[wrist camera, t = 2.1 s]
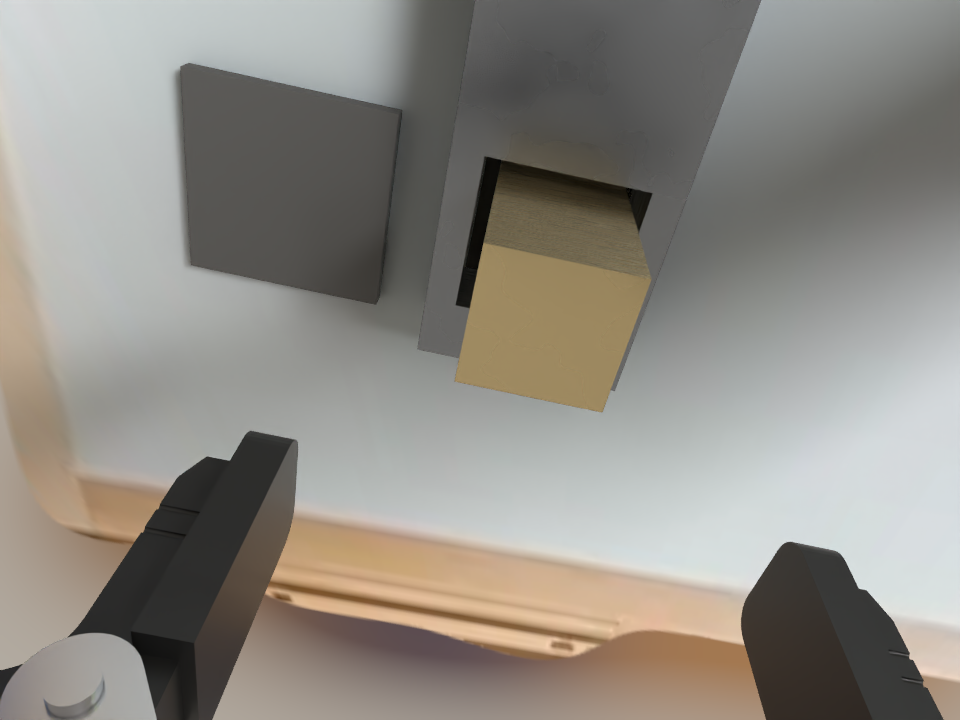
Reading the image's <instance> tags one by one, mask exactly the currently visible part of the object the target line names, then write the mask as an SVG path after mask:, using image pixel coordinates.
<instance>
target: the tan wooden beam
mask: <svg viewBox="0 0 960 720" xmlns="http://www.w3.org/2000/svg"><path fill="white" fill-rule="evenodd" d="M651 280H652V279H651V275H650V272H649V268H648V265H647V261H646V258H645V254H644V251H643V247H642V244H641V240H640V237H639V233H638V230H637V226H636V222H635V219H634V215H633V212H632V208H631V205H630V201H629V198H628V194H627V191H626V187H623V186H618V185H614V184H609V183H604V182H600V181H595V180H591V179H586V178H582V177H577V176H573V175H568V174H564V173H559V172H555V171H550V170H545V169H541V168H536V167H532V166H527V165H523V164H518V163H514V162H509V161H505V160H502V161H501V166H500V170H499V175H498V179H497V184H496V188H495V193H494V197H493V202H492V206H491V211H490V215H489V220H488V225H487V229H486V234H485V238H484V243H483V248H482V252H481V257H480V262H479V267H478V271H477V276H476V281H475V286H474V291H473V295H472V300H471V305H470V310H469V315H468V319H467V324H466V329H465V334H464V338H463V343H462V348H461V353H460V358H459V362H458V367H457V372H456V377H455V382H460V383H464V384H469V385H474V386H479V387H484V388H488V389H493V390H498V391H503V392H507V393H512V394H517V395H522V396H526V397H531V398H536V399H541V400H545V401H550V402H555V403H560V404H564V405H569V406H574V407H579V408H583V409H588V410H593V411H598V412H603V409H604V406H605V404H606V401H607V398H608V396H609V393H610V390H611V387H612V385H613V382H614V379H615V377H616V374H617V371H618V369H619V366H620V363H621V361H622V358H623V355H624V352H625V350H626V347H627V344H628V342H629V339H630V336H631V334H632V331H633V328H634V325H635V323H636V320H637V317H638V315H639V312H640V309H641V307H642V304H643V301H644V299H645V296H646V293H647V290H648V288H649V285H650V282H651Z"/></svg>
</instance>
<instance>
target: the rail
mask: <svg viewBox="0 0 960 720" xmlns="http://www.w3.org/2000/svg"><path fill="white" fill-rule="evenodd" d="M760 2H761V0H475V5H474V11H473V17H472V23H471V29H470V35H469V41H468V47H467V53H466V59H465V65H464V71H463V77H462V83H461V89H460V95H459V101H458V107H457V113H456V119H455V125H454V131H453V137H452V144H451V150H450V156H449V162H448V168H447V174H446V180H445V186H444V192H443V198H442V204H441V210H440V216H439V222H438V228H437V234H436V240H435V246H434V252H433V258H432V264H431V270H430V276H429V282H428V288H427V294H426V300H425V306H424V312H423V319H422V325H421V331H420V337H419V343H418V349H419V350H423V351H428V352H433V353H438V354H442V355H447V356H452V357H456V358H460V353H461V348H462V343H463V338H464V334H465V329H466V324H467V319H468V315H469V310H470V305H471V300H472V295H473V291H474V286H475V281H476V276H477V271H478V270H477V269H472V268H468V267H466V262H467V257H468V252H469V247H470V241H471V236H472V231H473V226H474V221H475V216H476V211H477V206H478V201H479V196H480V191H481V186H482V181H483V175H484V170H485V165H486V160H487V157H491V158H495V159H500V160H505V161H509V162H514V163H518V164H523V165H527V166H532V167H536V168H541V169H545V170H550V171H555V172H559V173H564V174H568V175H573V176H577V177H582V178H586V179H591V180H595V181H600V182H604V183H609V184H614V185H618V186H623V187H627V188H632V189H633V190H632V193H631V196H630V199H629V201H630V205H631V208H632V212H633V215H634V219H635V222H636V226H637V230H638V233H639V237H640V240H641V244H642V247H643V251H644V254H645V258H646V261H647V265H648V268H649V272H650V275H651V279H652V280H651V282H650V285H649V288H648V290H647V293H646V296H645V299H644V301H643V304H642V307H641V309H640V312H639V315H638V317H637V320H636V323H635V325H634V328H633V331H632V334H631V336H630V339H629V342H628V344H627V347H626V350H625V352H624V355H623V358H622V361H621V363H620V366H619V369H618V371H617V374H616V377H615V379H614V382H613V385H612V387H611V390H612V391H615V389H616V386H617V383H618V381H619V378H620V375H621V373H622V370H623V367H624V365H625V362H626V359H627V357H628V354H629V351H630V349H631V346H632V343H633V341H634V338H635V335H636V333H637V330H638V327H639V325H640V322H641V319H642V317H643V314H644V311H645V309H646V306H647V303H648V301H649V298H650V295H651V293H652V290H653V287H654V285H655V282H656V279H657V277H658V274H659V271H660V269H661V266H662V263H663V261H664V258H665V255H666V253H667V250H668V247H669V245H670V242H671V239H672V237H673V234H674V231H675V229H676V226H677V223H678V221H679V218H680V215H681V213H682V210H683V207H684V205H685V202H686V199H687V197H688V194H689V191H690V189H691V186H692V183H693V181H694V178H695V175H696V173H697V170H698V167H699V165H700V162H701V159H702V157H703V154H704V151H705V149H706V146H707V143H708V141H709V138H710V135H711V133H712V130H713V127H714V125H715V122H716V119H717V117H718V114H719V111H720V109H721V106H722V103H723V101H724V98H725V95H726V93H727V90H728V87H729V85H730V82H731V79H732V77H733V74H734V71H735V69H736V66H737V63H738V61H739V58H740V55H741V53H742V50H743V47H744V45H745V42H746V39H747V37H748V34H749V31H750V29H751V26H752V23H753V21H754V18H755V16H756V13H757V10H758V8H759V5H760Z"/></svg>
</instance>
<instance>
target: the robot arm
mask: <svg viewBox="0 0 960 720" xmlns="http://www.w3.org/2000/svg"><path fill="white" fill-rule="evenodd" d="M297 458H298V442H297V440H294V439H289V438H284V437H279V436H274V435H269V434H264V433H259V432H254V431H249V432H248V433H247V434H246V435H245V436H244V438H243V440H242V441H241V443H240V445H239V446H238V448H237V450H236V452H235V453H234V455H233V457H232V458H231V460H230V461H227V460H222V459H217V458H212V457H205V458H204V459H203V460H201V461H200V462H198V463H197V464H196V465H194V466H193V467H191V468H190V469H189V470H187V471H186V472H184V473H183V474H182V475H180V476H179V477H178V478H177V479H176V481H175V482H174V484H173V485H172V487H171V488H170V490H169V491H168V493H167V494H166V496H165V497H164V499H163V500H162V502H161V503H160V507H159V509H158V510H156V511H155V512H154V514H153V515H152V517H151V518H150V520H149V521H148V523H147V524H146V526H145V530H144V532H143V533H140V535H139V536H138V538H137V539H136V541H135V542H134V544H133V545H132V547H131V549H130V550H129V552H128V553H127V555H126V556H125V558H124V559H123V561H122V562H121V564H120V565H119V567H118V568H117V570H116V571H115V573H114V574H113V576H112V577H111V579H110V580H109V582H108V583H107V585H106V586H105V588H104V589H103V591H102V592H101V594H100V595H99V597H98V598H97V600H96V601H95V603H94V604H93V606H92V607H91V609H90V610H89V612H88V613H87V615H86V616H85V618H84V619H83V620H82V622H81V623H80V624H79V626H78V627H77V628H76V629H75V630H74V632H72V633H71V634H70V635H69V636H68V637H67V638H65V639H62V640H60V641H57V642H55V643H53V644H51V645H49V646H47V647H45V648H43V649H42V650H41V651H39V652H37V653H36V654H35V655H33V656H32V657H31V658H29V659H28V660H27V661H26V662H25V663H24V664H21V665H19V666H15V667H12V668H9V669H5V670H0V720H212V719H213V716H214V714H215V711H216V709H217V707H218V704H219V702H220V699H221V697H222V695H223V692H224V690H225V687H226V685H227V682H228V680H229V678H230V675H231V673H232V671H233V667H234V665H235V663H236V661H237V659H238V656H239V654H240V651H241V649H242V647H243V644H244V642H245V639H246V637H247V635H248V632H249V630H250V627H251V625H252V622H253V620H254V618H255V615H256V613H257V610H258V608H259V605H260V603H261V601H262V598H263V596H264V594H265V591H266V589H267V587H268V584H269V582H270V579H271V577H272V575H273V572H274V570H275V567H276V565H277V563H278V560H279V558H280V555H281V553H282V551H283V548H284V546H285V543H286V540H287V537H288V534H289V531H290V527H291V523H292V518H293V513H294V504H295V489H296V473H297ZM741 630H742V636H743V640H744V644H745V647H746V651H747V654H748V657H749V661H750V664H751V668H752V671H753V675H754V679H755V682H756V686H757V689H758V693H759V696H760V700H761V703H762V707H763V710H764V714H765V717H766V720H943V718H942V716H941V714H940V712H939V710H938V708H937V706H936V704H935V702H934V700H933V698H932V696H931V694H930V692H929V690H928V688H926V687H923V679H922V677H921V675H920V673H919V671H918V669H917V667H916V665H915V663H914V661H913V660H910V659H909V654H910V653H909V651H908V649H907V647H906V645H905V643H904V641H903V639H902V637H901V635H900V633H899V631H898V629H897V627H896V626H895V624H894V622H893V620H892V619H891V618H890V617H889V616H888V614H887V613H886V612H885V611H884V610H883V609H882V608H881V606H880V605H879V604H878V603H877V602H876V601H875V600H874V598H873V597H872V596H871V595H870V594H869V593H868V592H867V590H862V589H859V588H858V586H857V584H856V582H855V580H854V578H853V576H852V574H851V572H850V570H849V568H848V566H847V564H846V562H845V560H844V558H843V557H842V556H841V554H839V553H838V552H836V551H833V550H829V549H824V548H819V547H814V546H809V545H804V544H799V543H794V542H787V543H785V544H783V545H782V546H781V547H780V548H779V550H778V551H777V553H776V554H775V556H774V557H773V559H772V560H771V562H770V563H769V565H768V566H767V568H766V569H765V571H764V572H763V574H762V575H761V577H760V578H759V580H758V582H757V583H756V585H755V586H754V588H753V589H752V591H751V592H750V594H749V595H748V597H747V599H746V601H745V603H744V606H743V610H742V617H741Z"/></svg>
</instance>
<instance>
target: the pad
mask: <svg viewBox="0 0 960 720" xmlns="http://www.w3.org/2000/svg"><path fill="white" fill-rule="evenodd" d="M181 85H182V104H183V123H184V142H185V161H186V180H187V199H188V218H189V237H190V256H191V265H193V266H197V267H202V268H207V269H211V270H216V271H221V272H225V273H230V274H235V275H240V276H244V277H249V278H254V279H258V280H263V281H268V282H272V283H277V284H282V285H286V286H291V287H296V288H301V289H305V290H310V291H315V292H319V293H324V294H329V295H333V296H338V297H343V298H347V299H352V300H357V301H362V302H366V303H371V304H376V303H377V301H378V299H379V296H380V288H381V280H382V272H383V264H384V255H385V247H386V239H387V231H388V223H389V214H390V206H391V198H392V190H393V182H394V173H395V165H396V157H397V149H398V141H399V133H400V124H401V116H402V110H399V109H394V108H390V107H385V106H381V105H376V104H372V103H367V102H363V101H358V100H354V99H349V98H345V97H340V96H336V95H331V94H327V93H322V92H318V91H313V90H309V89H304V88H300V87H295V86H290V85H286V84H281V83H277V82H272V81H268V80H263V79H259V78H254V77H250V76H245V75H241V74H236V73H232V72H227V71H223V70H218V69H214V68H209V67H205V66H200V65H196V64H191V63H188V64H185V65H183V66H181Z"/></svg>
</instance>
